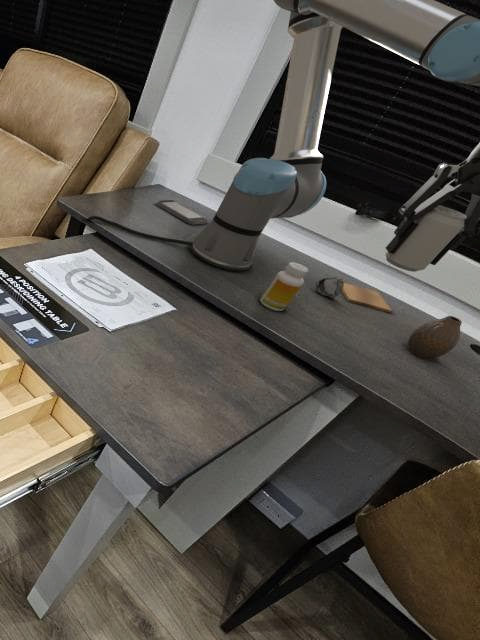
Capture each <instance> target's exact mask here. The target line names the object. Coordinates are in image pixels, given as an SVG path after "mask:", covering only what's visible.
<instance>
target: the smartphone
mask: <svg viewBox="0 0 480 640" xmlns="http://www.w3.org/2000/svg"><path fill="white" fill-rule="evenodd" d="M156 206H158V207H159V208H161V209H163V210H165V211H166V212H168V213H170V214H171V215H173V216H175V217H177V218H178V219H180V220H182V221H184V222H185V223H187V224H188V225H191V226H195V225H206V224H207V223H208V222H209V219H208V218H206V217H205V216H203V215H201V214H200V213H198V212H196V211H194V210H192V209H190V208H188V207H187V206H184V205H183V204H181V203H180V202H178V201H176V200H173V199H161V200H157V202H156Z"/></svg>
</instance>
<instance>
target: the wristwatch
mask: <svg viewBox="0 0 480 640" xmlns="http://www.w3.org/2000/svg"><path fill="white" fill-rule="evenodd" d="M329 280H330V281H331V280H336V288H335V290H334V292H333V293H329V292H328V291H327V290H326V287H325V286H326V285H325V281H329ZM344 283H345V282H344V279H343V278H341V277H328V276H327V277H324V278H320V279H319V280H318V281H316V282H315V290H316V292H317V293H319V294H320V295H323V296H324V297H325V296H327V297H329V298H336V297H338V296H340V293H341V292H342V289H343V286H344Z"/></svg>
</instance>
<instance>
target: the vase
mask: <svg viewBox="0 0 480 640" xmlns="http://www.w3.org/2000/svg"><path fill="white" fill-rule="evenodd" d="M462 323H463V321H462V319H460V318H458V317H456V316H453V315H447V316H445V317H442V318H438V319H434V320H431V321H427V322H425V323H423V324H421V325H420V326H418V327H417V328H416V329H414V331H413V332H412V333H411V334H410V336H409V338H408V341H407V343H408V344H407V345H408V349H409V350H410V352H412V354H415V355H417V356H418V357H421V358H424V359H436V358H440V357H442V356H445V355H446V354H447V353H450V352H451V351H452V350H453V349H454V348H455V347H456V346H457V344H458V343H459V341H460V339H461V327H462V326H461V325H462Z"/></svg>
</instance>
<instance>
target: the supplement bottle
mask: <svg viewBox="0 0 480 640" xmlns="http://www.w3.org/2000/svg"><path fill="white" fill-rule="evenodd" d="M284 269H285V270H280V271H278V273H277V274H276V275H275V276H274V278H273V279H272V281H271V282H270V283H269V285H268V286H267V288H266V289H265V291H264V292H263V294H262V295H261V297H260V299H259V301H260V304H262V305H263V306H264V307H266V308H267V309H270V310H272V311H277V312H282V311H284V310H286V308H287V307H288V305H289V304H290V302H291V301H292V300H293V298H294V297H295V296H296V294H298V292H299V290H300V289H301V288H302V286H303V285H304V283H305V280H304V277H305V276H306V275H307V273H308V272H309V268H308V267H307V266H305V265H303V264H300V263H298V262H296V261H295V262H294V261H290V262H288V264H287V265H286V266H285V268H284Z"/></svg>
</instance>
